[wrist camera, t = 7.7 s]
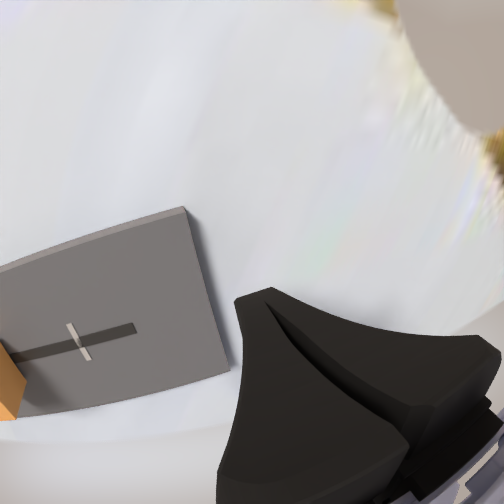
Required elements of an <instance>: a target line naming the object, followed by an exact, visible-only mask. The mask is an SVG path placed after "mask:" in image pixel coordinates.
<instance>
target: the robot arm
mask: <svg viewBox="0 0 504 504" xmlns="http://www.w3.org/2000/svg"><path fill="white" fill-rule="evenodd" d="M234 305H235V309H236V313H237V317H238V321H239V325H240V329H241V333H242V337H243V365H242V377H241V385H240V392H239V398H238V404H237V409H236V413H235V417H234V421H233V425H232V429H231V433H230V436H229V440H228V443H227V446H226V449H225V451H224V454H223V457H222V460H221V462H220V465H219V468H218V471H217V485H216V504H453V503H454V500H455V498H456V495H457V493H458V490H459V484H458V482H457V480H458V479H460V478H461V477H462V476H463V475H464V474H465V473H466V472H467V471H468V470H470V469H471V468H472V467H473V466H474V465H475V464H476V463H477V462H478V461H479V460H480V459H481V458H482V457H483V456H484V455H485V454H486V453H487V452H488V451H489V450H490V449H491V448H492V447H493V446H494V444H495V443H496V442H497V441H498V440H499V441H498V446H499V448H498V450H497V451H496V453H495V454H494V455H493V456H492V457H491V458H490V459H489V460H488V461H487V462H486V463H485V464H484V466H482V468H481V469H480V470H479V471H478V472H477V473H476V474H474V475H473V476H472V477H471V478H470V479H469V480H468V481H467V482H466V483H465V486H466V487H467V489H468V490H469V491H470V492H471V494H470V495H469V496H468V497H466V499H464V500H463V501H462V502H461V503H460V504H504V408H503V409H502V410H501V411H500V412H499V414H497V416H496V415H495V414H494V413H493V412H492V411H491V410H490V409H489V407H490V406H491V404H492V403H491V401H490V400H489V399H488V398H487V397H486V396H485V394H486V393H487V391H488V389H489V387H490V385H491V383H492V381H493V380H494V377H495V376H496V374H497V371H498V369H499V367H500V364H501V360H502V359H501V352H500V351H499V350H498V349H496V348H495V347H494V346H492V345H491V344H490V343H488V342H487V341H486V340H484V339H483V338H482V337H480V336H479V335H465V336H430V335H416V334H407V333H401V332H394V331H388V330H383V329H378V328H374V327H370V326H366V325H362V324H359V323H355V322H352V321H349V320H346V319H343V318H340V317H337V316H334V315H332V314H329V313H327V312H324V311H322V310H319V309H317V308H315V307H312V306H310V305H308V304H306V303H304V302H301V301H299V300H297V299H295V298H293V297H291V296H289V295H287V294H285V293H283V292H281V291H279V290H277V289H275V288H273V287H269V288H266V289H263V290H260V291H257V292H254V293H251V294H248V295H245V296H242V297H239V298H236V300H235V301H234Z"/></svg>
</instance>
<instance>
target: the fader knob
mask: <svg viewBox="0 0 504 504" xmlns="http://www.w3.org/2000/svg"><path fill="white" fill-rule="evenodd" d="M26 383H27V381H26V379H25V378H24V377H23V375H22V374H21V372H20V371H19V370H18V368H17V367H16V365H15V364H14V362H13V361H12V359H11V358H10V356H9V355H8V353H7V352H6V350H5V349H4V347H3V346H2V344H1V342H0V421H6V420H16V419H17V415H18V411H19V407H20V404H21V400H22V397H23V393H24V390H25V386H26Z"/></svg>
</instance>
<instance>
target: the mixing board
mask: <svg viewBox="0 0 504 504" xmlns="http://www.w3.org/2000/svg"><path fill="white" fill-rule="evenodd" d="M0 342H1V344H2V346H3V347H4V349H5V350H6V352H7V353H8V355H9V356H10V358H11V359H12V361H13V362H14V364H15V365H16V367H17V368H18V370H19V371H20V372H21V374H22V375H23V377H24V378H25V379H26V381H27V383H26V386H25V390H24V393H23V397H22V400H21V404H20V407H19V411H18V415H17V418H21V417H30V416H38V415H46V414H53V413H60V412H66V411H72V410H78V409H84V408H89V407H94V406H100V405H105V404H109V403H114V402H119V401H123V400H128V399H132V398H136V397H141V396H145V395H149V394H153V393H157V392H161V391H164V390H168V389H172V388H175V387H179V386H183V385H186V384H190V383H193V382H196V381H200V380H203V379H206V378H210V377H213V376H216V375H219V374H222V373H225V372H228V371H231V370H230V367H229V364H228V361H227V358H226V355H225V351H224V348H223V345H222V342H221V338H220V335H219V332H218V329H217V325H216V322H215V318H214V315H213V312H212V308H211V305H210V301H209V298H208V294H207V291H206V287H205V284H204V280H203V276H202V273H201V269H200V265H199V262H198V258H197V254H196V250H195V247H194V243H193V239H192V235H191V231H190V227H189V223H188V219H187V215H186V211H185V209H184V207H183V206H181V207H177V208H174V209H170V210H167V211H163V212H160V213H156V214H153V215H149V216H146V217H143V218H139V219H136V220H133V221H129V222H126V223H123V224H120V225H116V226H113V227H110V228H107V229H104V230H101V231H98V232H95V233H92V234H88V235H85V236H82V237H80V238H77V239H74V240H71V241H68V242H65V243H62V244H59V245H56V246H54V247H51V248H48V249H45V250H42V251H40V252H37V253H34V254H32V255H29V256H26V257H24V258H21V259H18V260H16V261H13V262H11V263H8V264H6V265H3V266H1V267H0Z"/></svg>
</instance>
